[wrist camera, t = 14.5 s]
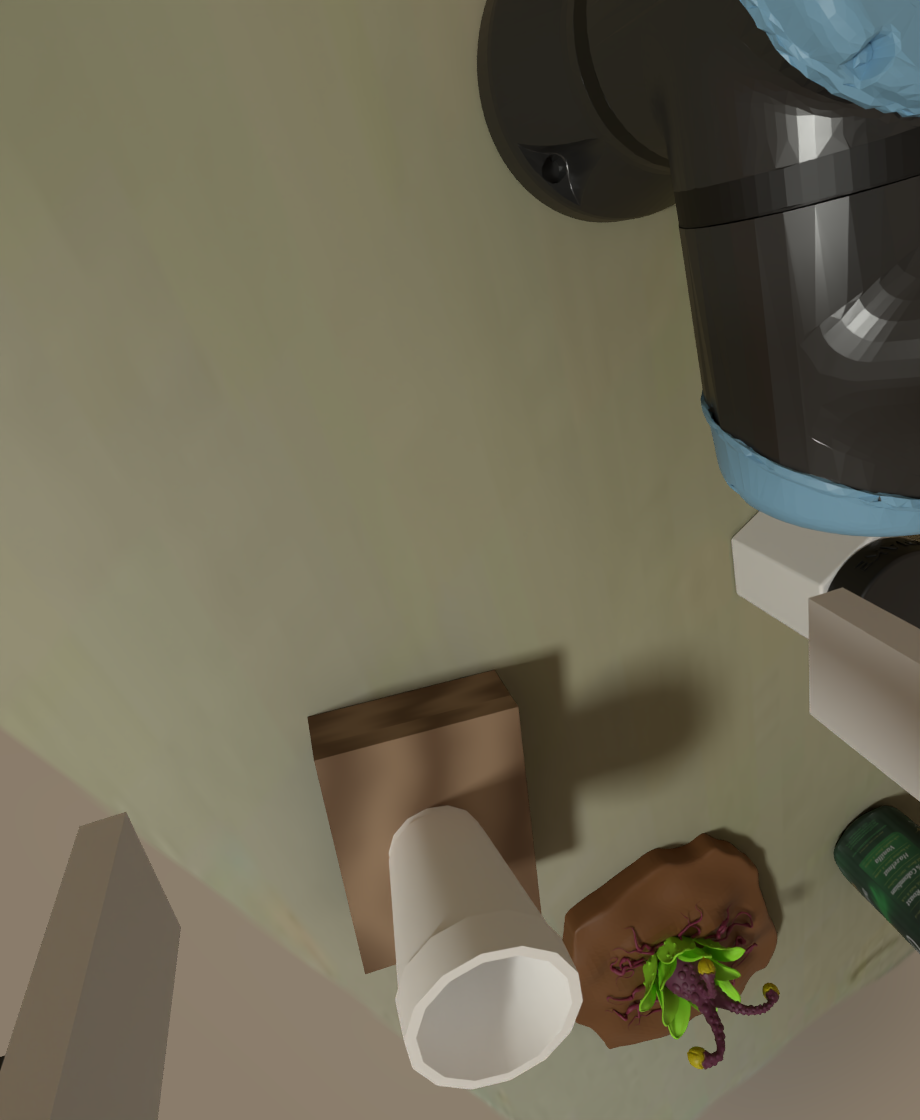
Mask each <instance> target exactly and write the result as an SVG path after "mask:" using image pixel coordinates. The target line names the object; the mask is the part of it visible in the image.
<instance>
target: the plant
mask: <svg viewBox="0 0 920 1120" xmlns="http://www.w3.org/2000/svg"><path fill="white" fill-rule="evenodd" d="M758 876H759V874H758V870H757V868H756V866H755V865H754V864H753V862H752V861H751V860H750V859H749V858H748V857H747V856H746V855H745V854H744V853H742V852H740V851H739V850H738V849H737V848H736V847H735V846H733V845H732V844H731V843H730V842H728V841H724V840H717V839H714V838H713V837H711V836H709V835H707V834H706V833H702V834H700V835H699V836H698V837H696V838H695V839H694V840H693V841H691V842H690V843H688V844H686V845H684V846H681V847H678V848H673V849H660V848H658V849H653V850H651V851H649V852H647V853H646V854H644V855H643V856H641V857H640V858H639V859H638V860H636V861H635V862H634V863H632V864H631V865H629V866H628V867H627V868H625V869H624V870H622V871H621V872H620V873H618V874H617V875H616V876H614V877H613V878H612V879H610V880H609V881H608V882H607V883H605V884H604V885H603V886H601V887H600V888H598V889H597V890H596V891H594V892H592V893H591V894H589V895H588V896H587V897H585V898H584V899H583V900H581V901H580V902H579V903H577V904H576V905H575V906H574V907H572V908H571V909H570V910H569V911H568V912H567V914H566V916H565V923H564V933H563V939H562V940H563V943H564V945H565V947H566V949H567V951H568V953H569V955H570V957H571V959H572V961H573V963H574V965H575V967H576V969H577V971H578V974H579V980H580V986H581V992H582V999H583V1002H582V1004H581V1007H580V1010H579V1012H578V1015H577V1017H576V1020H575V1021H576V1023H578V1024H581V1025H585V1026H587V1027H590V1028H592V1029H593V1030H594V1031H595V1032H596V1033H597V1034H598V1035H599V1036H600V1037H601V1039H602V1040H603V1041H604V1042H605V1044H606V1046H607V1047H608V1048H609V1049H612V1048H616V1047H620V1046H626V1045H631V1044H636V1043H640V1042H644V1041H648V1040H652V1039H656V1038H661V1037H664V1036H667V1035H669V1034H671V1036H672V1037H673V1038H674V1039H679V1038H680V1037H681V1036H682V1035H683V1033H684V1032H685V1030H686V1028H687V1026H688V1022H689V1021H690V1020H691V1019H692V1018H694V1017H695V1016H698V1015H701V1014H703V1015H704V1016H705V1018H706V1021H707V1023H708V1024H710V1026H711V1028H712V1032H713V1033H714V1035H715V1041H716V1044H717V1051H716V1052H714V1053H712V1054H711V1053H709V1052H707V1051H706V1050H704V1049H703V1048H701V1047H692V1048H691V1049H690V1050H689V1052H688V1053H687V1054H688V1060H689V1062H690V1064H691V1065H692V1066H694V1067H695V1068H698V1069H703V1068H704V1069H707V1068H711V1067H712V1066H713V1065H714V1066H716V1065H717V1063H718V1062H719V1061H722V1060H723V1054H724V1051H725V1041H724V1039H725V1034H724V1033H723V1030H724V1026H723V1024H722V1023H721V1020H720V1018H719V1016H718V1014H717V1008H722V1009H726V1010H729V1011H730V1012H735V1013H736V1014H739V1013H741V1014H743V1015H745V1014H747V1015H748V1016H749V1015H750V1014H753V1015H756V1014H759V1015H761V1013H766V1011H768V1010H770V1008H771V1007H773V1005H774V1003H776V1002H777V1001H778V999H779V994H780V993H779V990H778V988H777V987H776V986H775V985H774V984H772V983H766V984H765V985H764V986H763V995H764V997H765V998H766V999H767V1000H768V1002H767V1003H763V1006H762V1005H761V1004H760V1005H759V1006H755V1007H754V1006H753V1005H749V1006H746V1005H743V1004H741V1003H740V1002H741V997H740V995H741V993H742V992H743V990H744V988H745V985H746V984H747V982H748V980H749V979H750V977H751V976H752V975H753V974H754V973H755V972H756V971H759V970H761V969H763V968H765V967H766V966H767V965H768V963H769V961H770V959H771V957H772V955H773V953H774V951H775V948H776V944H777V933H776V929H775V926H774V924H773V922H772V920H771V918H770V917H769V915H768V911H767V908H766V904H765V901H764V898H763V896H762V893H761V890H760V887H759V881H758Z"/></svg>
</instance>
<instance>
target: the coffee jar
mask: <svg viewBox="0 0 920 1120" xmlns="http://www.w3.org/2000/svg"><path fill="white" fill-rule="evenodd" d="M834 858H835V861H836V864H837V865H838V867H839V869H840V871H841V872H842V874H843V875H844V876H845V877H846V879H847V880H848V881H849V882H850V883H851V884H852V885H853V886H854V887H855V888H856V889H857V890H858V891H859V892H860V893H861V894H862V895H863V896H864V897H865V898H866V899H867V900H868V901H869V902H870V903H871V904H872V905H873V906H874V907H875V908H876V909H877V910H878V911H879V912H880V913H881V914H882V915H883V916H884V917H885V918H886V919H887V920H888V921H889V922H890V923H891V925H892V926H893V927H894V928H895V929H896V930H897V931H898V932H899V933H900V934H901V935H902V936H903V937H904V938H905V939H906V940H907V941H908V942H909V943H910V944H911V945H912V946H913V947H914V948H915V949H916V950H917V951H918V952H919V954H920V827H919V826H918V825H917V824H915V823H914V822H913V821H912V820H910V819H909V818H908V817H907V816H906V815H904V814H903V813H902V812H901V811H899V810H898V809H896V808H894V807H890V806H882V807H879V808H876V809H874V810H872V811H870V812H868V813H866V814H864V815H862V816H860V817H859V818H858V819H856V820H855V821H854V822H853V823H852V824H851V825H850V826H849V827H848V828H847V829H846V830H845V832H844V834H843V835H842V837H841V838H840V840H839V841H838V843H837V845H836V847H835V849H834Z"/></svg>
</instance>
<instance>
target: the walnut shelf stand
mask: <svg viewBox="0 0 920 1120" xmlns="http://www.w3.org/2000/svg"><path fill="white" fill-rule="evenodd" d="M308 723H309V730H310V736H311V743H312V750H313V756H314V762H315V766H316V770H317V775H318V779H319V783H320V787H321V791H322V795H323V800H324V804H325V808H326V812H327V816H328V820H329V825H330V829H331V833H332V837H333V841H334V845H335V850H336V854H337V858H338V862H339V866H340V870H341V875H342V879H343V883H344V887H345V891H346V895H347V900H348V904H349V908H350V912H351V916H352V921H353V925H354V929H355V933H356V937H357V941H358V946H359V950H360V954H361V958H362V962H363V966H364V971H365V974H367V973H371V972H374V971H377V970H380V969H383V968H386V967H389V966H392V965H395V964H396V952H395V939H394V925H393V911H392V897H391V884H390V870H389V858H390V857H389V850H390V846H391V842H392V839H393V835H394V834H395V833H396V832H397V830H398V829H399V828H400V827H401V826H402V825H403V823H404V822H405V821H406V820H407V819H408V818H410V817H412V816H414V815H416V814H417V813H419V812H421V811H423V810H425V809H427V808H433V807H440V806H447V805H448V806H452V807H456V808H459V809H463V810H466V811H467V812H468V813H469V814H470V815H471V816H472V817H473V818H474V819H476V820H477V821H478V823H479V825H480V826H481V827H482V828H483V829H484V831H485V832H486V834H487V835H488V837H489V838H490V840H491V841H492V843H493V844H494V846H495V847H496V849H497V850H498V852H499V853H500V855H501V856H502V857H503V859H504V860H505V862H506V863H507V865H508V866H509V868H510V869H511V871H512V872H513V874H514V875H515V877H516V878H517V880H518V881H519V883H520V884H521V885H522V887H523V888H524V890H525V891H526V893H527V894H528V896H529V897H530V899H531V900H532V902H533V903H534V905H535V906H536V908H537V909H538V911H539V912H540V914H541V906H540V897H539V888H538V879H537V870H536V861H535V852H534V843H533V834H532V825H531V816H530V807H529V799H528V790H527V781H526V772H525V763H524V754H523V745H522V736H521V727H520V718H519V709H518V706H517V704H516V703H515V701H514V699H513V698H512V696H511V695H510V693H509V692H508V690H507V689H506V687H505V686H504V684H503V682H502V681H501V679H500V678H499V676H498V675H497V673H496V672H495V670H492V671H488V672H484V673H480V674H476V675H472V676H468V677H464V678H460V679H456V680H452V681H449V682H445V683H441V684H437V685H433V686H429V687H425V688H421V689H417V690H413V691H409V692H405V693H401V694H397V695H393V696H389V697H385V698H381V699H377V700H373V701H369V702H365V703H361V704H357V705H353V706H350V707H346V708H342V709H338V710H334V711H330V712H326V713H322V714H318V715H314V716H310V717H308Z"/></svg>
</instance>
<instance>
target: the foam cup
mask: <svg viewBox="0 0 920 1120" xmlns="http://www.w3.org/2000/svg"><path fill="white" fill-rule="evenodd" d="M389 857H390V858H389V870H390V884H391V897H392V911H393V925H394V939H395V952H396V966H397V980H398V991H397V995H396V998H395V1001H396V1006H397V1011H398V1015H399V1020H400V1024H401V1029H402V1034H403V1038H404V1042H405V1046H406V1049H407V1052H408V1055H409V1058H410V1062H411V1065H412V1068H413V1069H414V1070H416V1071H417V1072H418V1073H420V1074H421V1075H423V1076H424V1077H426V1078H427V1079H429V1080H430V1081H431V1082H433V1083H434V1084H436V1085H437V1086H445V1087H455V1088H463V1089H476V1088H480V1087H484V1086H488V1085H492V1084H496V1083H500V1082H504V1081H509V1080H511V1079H513V1078H515V1077H516V1076H518V1075H520V1074H522V1073H523V1072H525V1071H527V1070H528V1069H530V1068H532V1067H533V1066H535V1065H537V1064H539V1063H540V1062H542V1061H544V1060H545V1059H546V1058H547V1057H548V1056H549V1055H550V1054H551V1053H552V1052H553V1051H554V1050H555V1048H556V1047H557V1046H558V1045H559V1044H560V1043H561V1042H562V1041H563V1040H564V1039H565V1038H566V1036H567V1035H568V1034H569V1033H570V1032H571V1030H572V1028H573V1025H574V1023H575V1020H576V1017H577V1015H578V1012H579V1010H580V1007H581V1004H582V1002H583V999H582V992H581V986H580V980H579V974H578V971H577V969H576V967H575V965H574V963H573V961H572V959H571V957H570V955H569V953H568V951H567V949H566V947H565V945H564V943H563V940H562V938H561V937H560V936H559V935H558V934H557V933H556V932H555V931H554V930H553V929H552V928H551V927H550V926H549V925H548V924H547V922H546V921H545V919H544V918H543V916H542V915H541V914H540V912H539V911H538V909H537V908H536V906H535V905H534V903H533V902H532V900H531V899H530V897H529V896H528V894H527V893H526V891H525V890H524V888H523V887H522V885H521V884H520V883H519V881H518V880H517V878H516V877H515V875H514V874H513V872H512V871H511V869H510V868H509V866H508V865H507V863H506V862H505V860H504V859H503V857H502V856H501V855H500V853H499V852H498V850H497V849H496V847H495V846H494V844H493V843H492V841H491V840H490V838H489V837H488V835H487V834H486V832H485V831H484V829H483V828H482V827H481V826H480V825H479V823H478V821H477V820H476V819H474V818H473V817H472V816H471V815H470V814H469V813H468V812H467V811H466V810H463V809H459V808H456V807H452V806H448V805H447V806H440V807H433V808H427V809H425V810H423V811H421V812H419V813H417V814H416V815H414V816H412V817H410V818H408V819H407V820H406V821H405V822H404V823H403V825H402V826H401V827H400V828H399V829H398V830H397V832H396V833H395V834H394V835H393V839H392V842H391V846H390V850H389Z"/></svg>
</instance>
